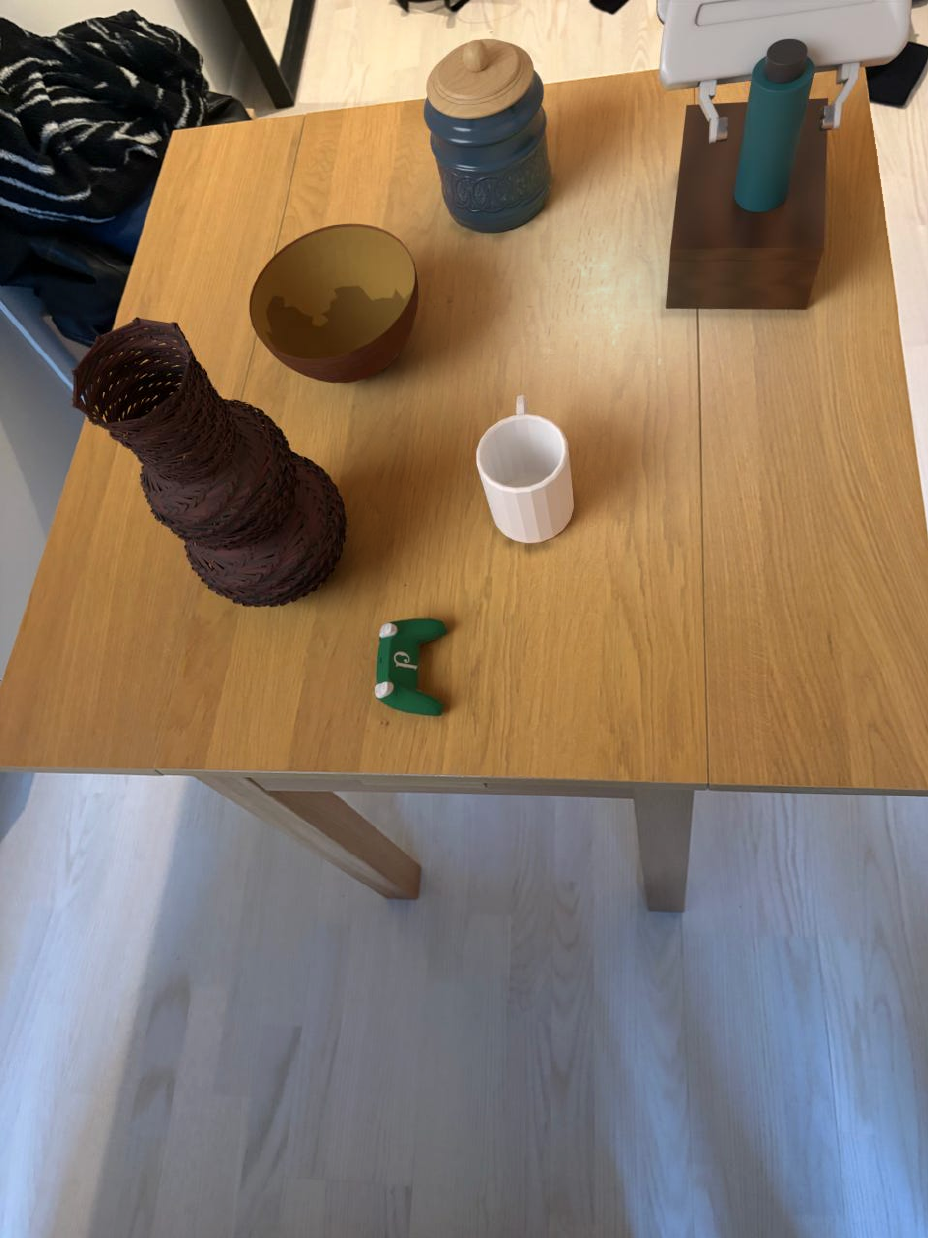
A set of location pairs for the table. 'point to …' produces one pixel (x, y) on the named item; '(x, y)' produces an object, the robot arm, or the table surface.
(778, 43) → the bottle
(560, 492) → the mug
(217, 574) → the vase
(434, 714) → the gaming controller
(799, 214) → the wooden box
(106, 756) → the table surface
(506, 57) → the canister
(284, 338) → the bowl
